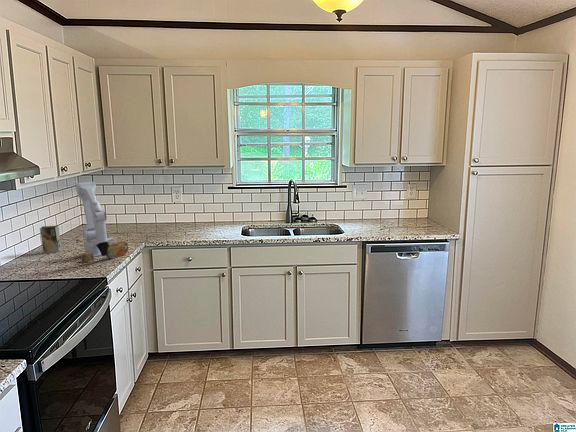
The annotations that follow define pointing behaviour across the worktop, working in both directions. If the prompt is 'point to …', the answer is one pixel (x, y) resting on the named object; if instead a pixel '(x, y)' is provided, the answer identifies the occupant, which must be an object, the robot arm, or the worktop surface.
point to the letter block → (87, 257)
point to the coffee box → (50, 239)
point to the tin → (116, 250)
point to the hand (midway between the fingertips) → (103, 255)
